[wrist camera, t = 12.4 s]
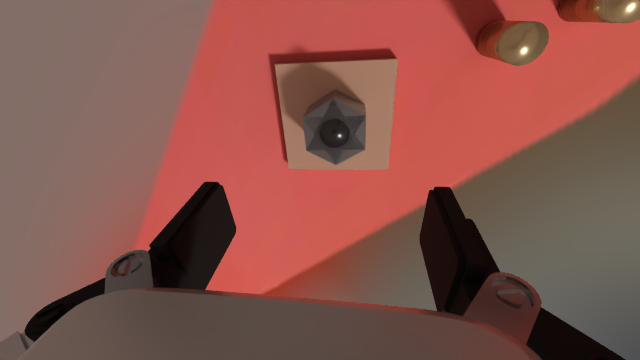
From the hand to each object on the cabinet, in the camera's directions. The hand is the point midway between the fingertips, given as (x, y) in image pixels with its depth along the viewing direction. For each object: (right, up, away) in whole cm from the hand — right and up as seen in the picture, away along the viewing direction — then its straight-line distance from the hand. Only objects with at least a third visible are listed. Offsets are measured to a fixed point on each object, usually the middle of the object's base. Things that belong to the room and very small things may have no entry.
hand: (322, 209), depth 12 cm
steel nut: (+1, +7, +12) cm, 14 cm away
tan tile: (+1, +7, +12) cm, 14 cm away
